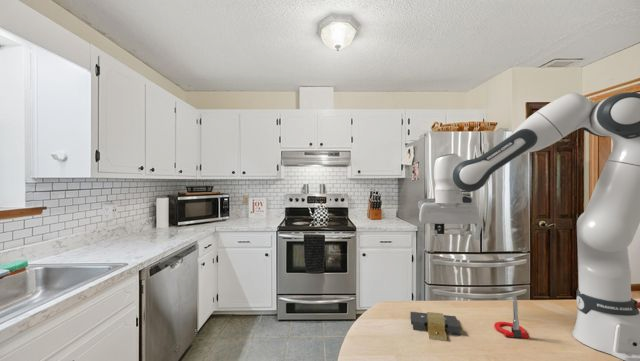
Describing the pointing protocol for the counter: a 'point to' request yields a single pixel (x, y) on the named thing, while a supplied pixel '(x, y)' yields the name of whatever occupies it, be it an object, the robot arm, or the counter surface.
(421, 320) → the fixed leaf
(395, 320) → the counter surface
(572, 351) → the counter surface
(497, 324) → the tow hook
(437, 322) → the loose leaf
